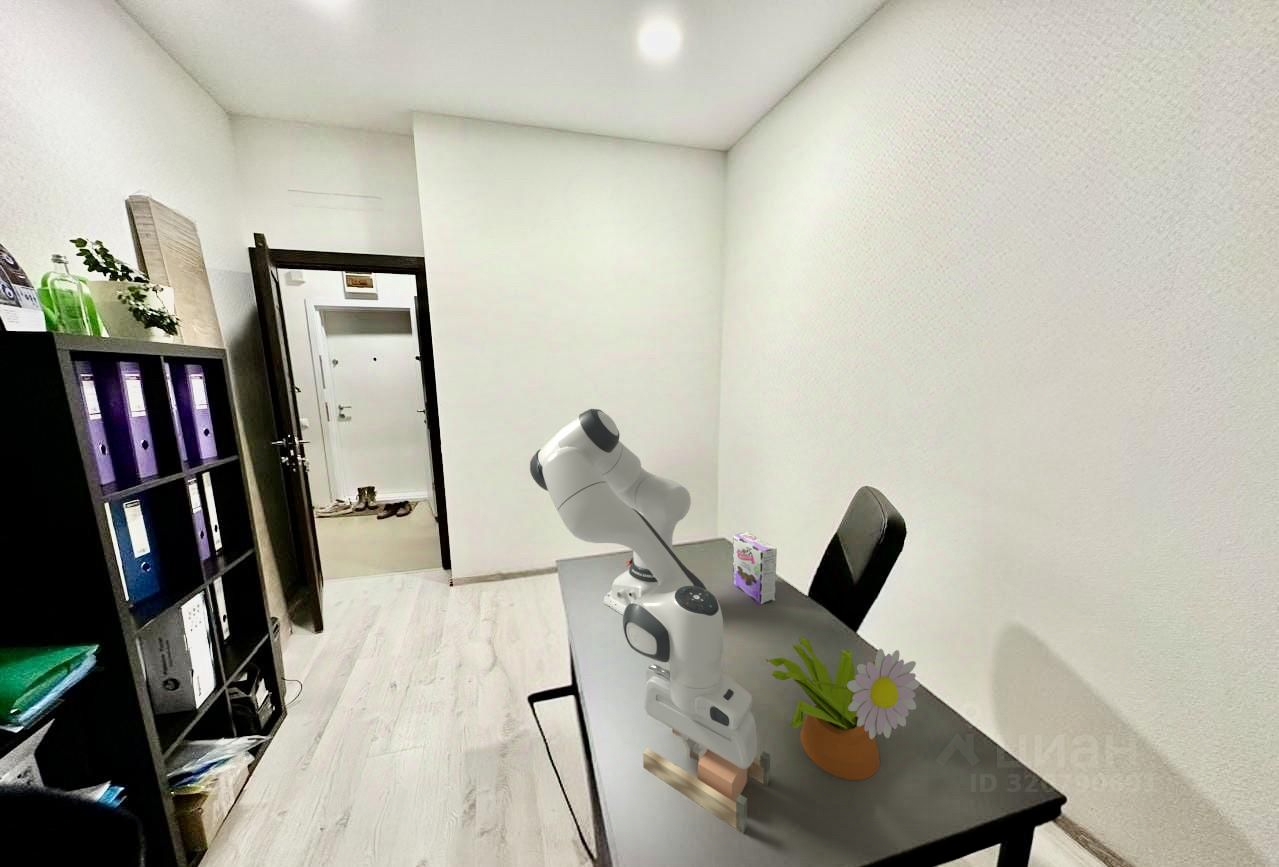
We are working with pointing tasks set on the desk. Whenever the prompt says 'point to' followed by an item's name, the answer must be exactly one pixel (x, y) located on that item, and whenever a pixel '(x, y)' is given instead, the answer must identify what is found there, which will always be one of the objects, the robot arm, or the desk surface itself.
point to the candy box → (754, 567)
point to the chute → (704, 793)
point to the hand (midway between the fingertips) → (696, 757)
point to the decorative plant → (850, 708)
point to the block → (722, 775)
